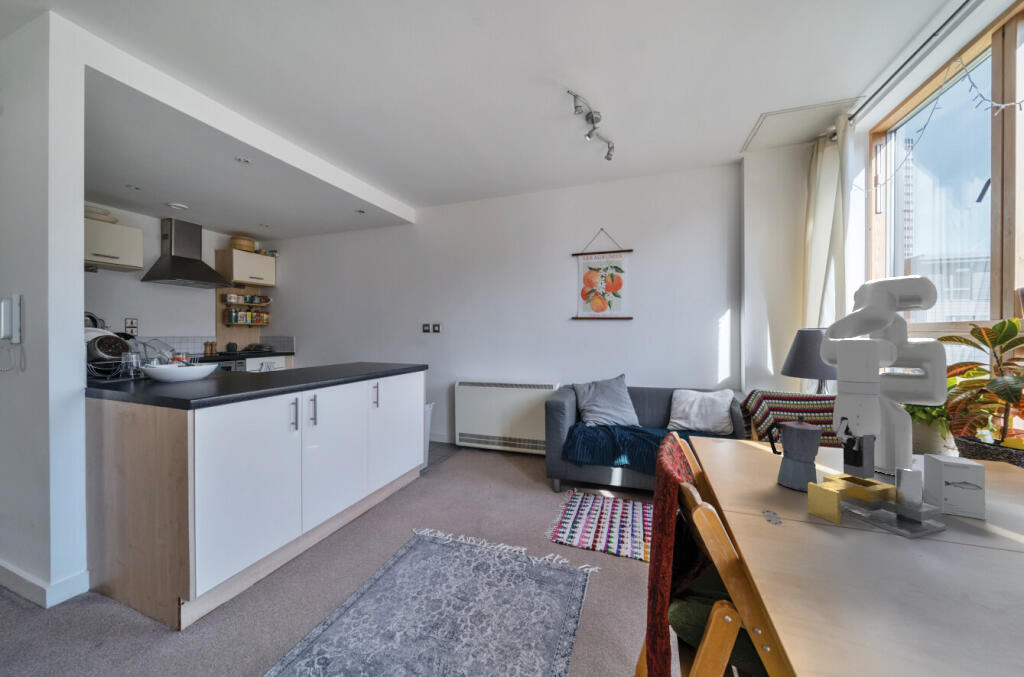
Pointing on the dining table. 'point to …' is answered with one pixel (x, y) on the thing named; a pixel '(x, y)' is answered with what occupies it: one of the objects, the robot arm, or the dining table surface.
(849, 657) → the dining table surface
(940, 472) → the supplement box
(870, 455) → the wedge pin
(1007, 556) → the dining table surface
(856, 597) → the dining table surface
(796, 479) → the moka pot
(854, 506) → the stepped holder fixture
